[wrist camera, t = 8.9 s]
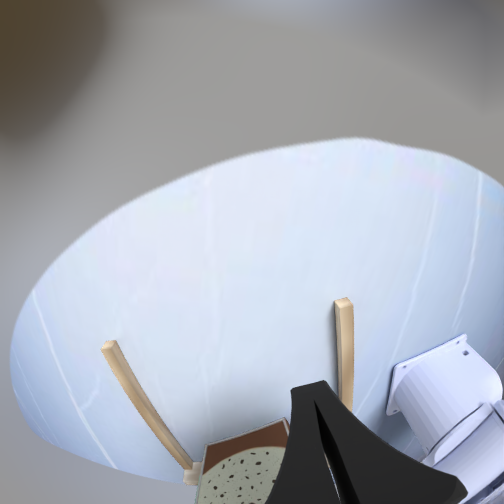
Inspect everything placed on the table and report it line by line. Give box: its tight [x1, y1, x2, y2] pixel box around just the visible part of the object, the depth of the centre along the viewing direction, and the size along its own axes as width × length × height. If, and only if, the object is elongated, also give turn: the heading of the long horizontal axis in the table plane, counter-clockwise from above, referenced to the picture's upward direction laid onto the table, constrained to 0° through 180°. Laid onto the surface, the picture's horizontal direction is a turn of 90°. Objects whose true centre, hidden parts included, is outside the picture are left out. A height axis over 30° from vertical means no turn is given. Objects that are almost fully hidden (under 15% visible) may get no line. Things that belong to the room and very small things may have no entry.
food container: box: [195, 417, 290, 504], centre depth 19 cm, size 12×6×10 cm, turn 122°
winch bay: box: [101, 297, 354, 485], centre depth 19 cm, size 19×21×5 cm
